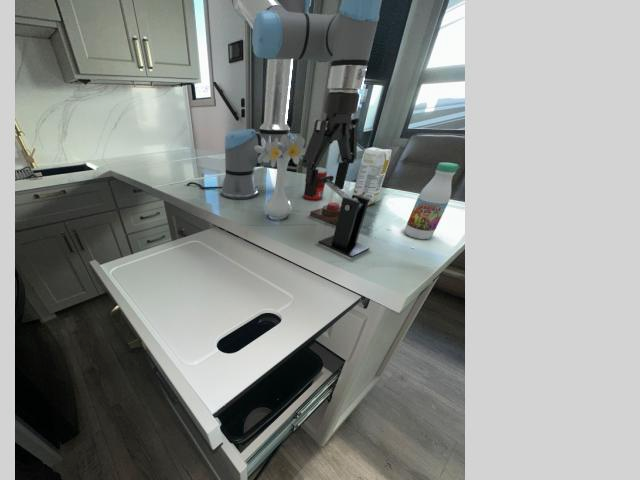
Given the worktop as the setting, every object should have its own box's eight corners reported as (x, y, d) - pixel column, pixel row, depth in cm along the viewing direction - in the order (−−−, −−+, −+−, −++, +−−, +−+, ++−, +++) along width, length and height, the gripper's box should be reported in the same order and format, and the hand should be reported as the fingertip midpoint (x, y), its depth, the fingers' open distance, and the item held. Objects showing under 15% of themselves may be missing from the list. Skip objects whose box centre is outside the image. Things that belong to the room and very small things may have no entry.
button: (324, 208, 90) (326, 203, 89) (331, 206, 92) (332, 201, 91) (333, 211, 88) (334, 206, 87) (340, 209, 90) (341, 204, 88)
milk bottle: (402, 228, 87) (430, 160, 74) (429, 231, 84) (462, 162, 72) (404, 237, 81) (435, 165, 69) (433, 241, 79) (470, 168, 66)
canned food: (320, 195, 114) (325, 167, 107) (323, 201, 108) (329, 171, 101) (302, 194, 115) (306, 166, 108) (304, 200, 108) (308, 171, 102)
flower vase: (264, 206, 102) (269, 129, 87) (307, 218, 93) (321, 134, 77) (243, 215, 94) (244, 133, 79) (287, 229, 85) (298, 138, 69)
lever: (315, 183, 71) (319, 175, 69) (327, 180, 74) (332, 172, 72) (349, 214, 67) (355, 207, 65) (361, 210, 69) (366, 203, 67)
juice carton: (368, 207, 102) (384, 151, 91) (348, 201, 108) (362, 148, 96) (377, 203, 106) (395, 149, 95) (358, 198, 111) (373, 146, 100)
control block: (309, 217, 93) (311, 206, 91) (325, 212, 98) (328, 201, 95) (335, 227, 86) (338, 215, 84) (351, 221, 91) (354, 209, 88)
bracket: (318, 245, 76) (328, 195, 68) (335, 238, 80) (347, 190, 72) (351, 260, 69) (367, 207, 61) (368, 251, 73) (385, 201, 65)
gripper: (322, 91, 51) (304, 203, 65) (388, 92, 63) (361, 187, 76) (294, 91, 56) (283, 196, 69) (360, 92, 68) (339, 182, 81)
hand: (324, 191), depth 73 cm, fingers open, 12 cm apart
